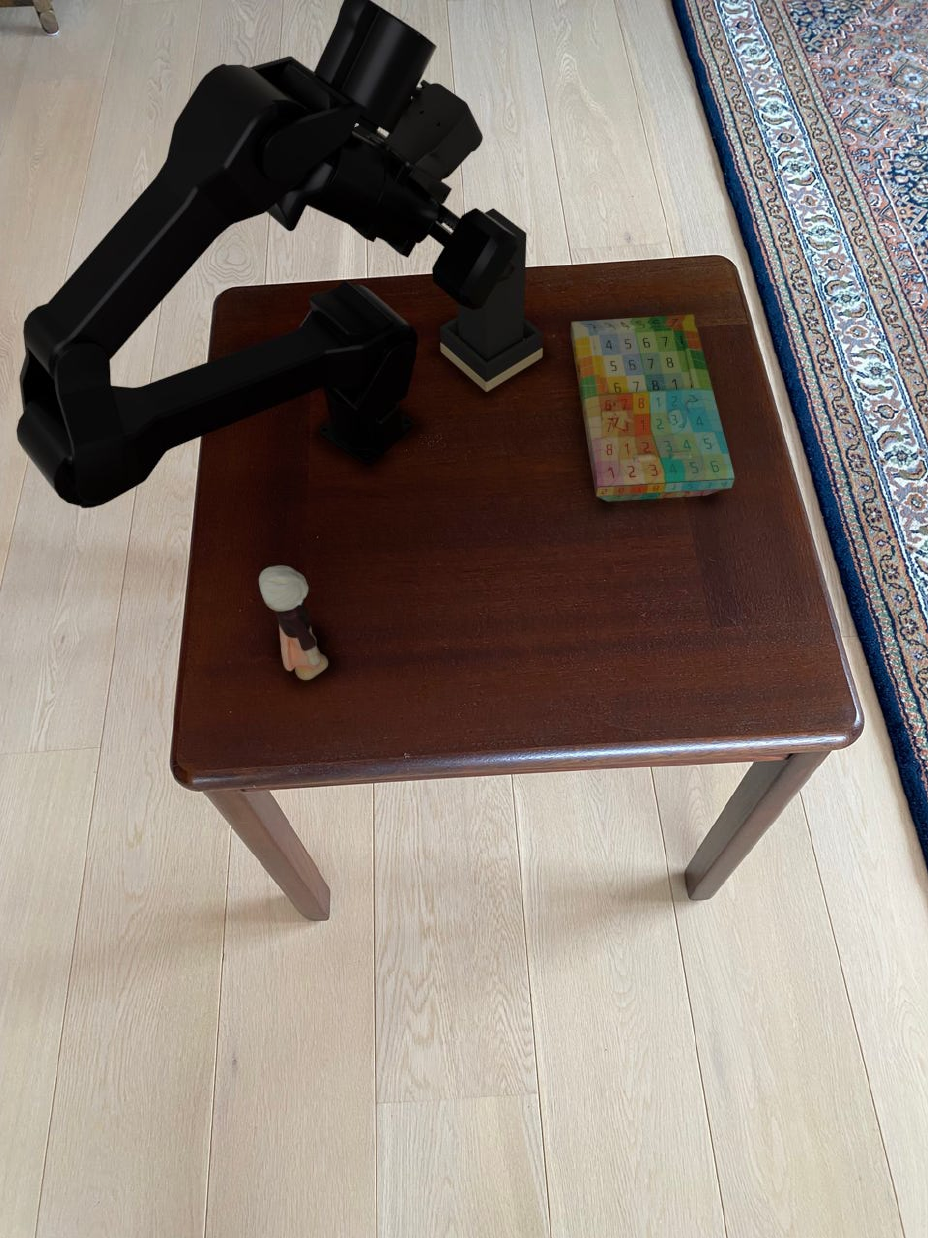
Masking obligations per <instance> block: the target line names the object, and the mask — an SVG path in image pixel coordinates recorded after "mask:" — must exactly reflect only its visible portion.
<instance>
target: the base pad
mask: <svg viewBox="0 0 928 1238" xmlns="http://www.w3.org/2000/svg"><path fill="white" fill-rule="evenodd" d="M439 333H440V353H442V354H443V355H444V356H445V357H446V358H447V359H449V360H450V362H452V363H453V364H454V365H455V366H456V367H457V368H459V370H461V371H462V372H463V373H464V374H465V375H466V376H468V378H470V379H471V380H472V381H473V382H474V383H475V384H477V385H478V386H479V387H480V388H481V389H482V390H484V392H486V393H488V392H490V390H492V389H494V388H496V387H497V386H499V385H500V384H502V383H503V382H505V381H507V380H508V379H510V378H512V377H513V376H515V375H516V374H518V373H520V372H521V371H523V370H524V369H526V368H528V367H529V366H531V365H533V364H534V363H535V362H537V361H539V360H541V359H542V358H543V352H544V351H543V350H544V348H543V340H544V332H543V331H541V330H540V329H539V328H538V327H537V326H535V325H534V324H533V323H532V322H531V321H529V319H527V318H526V317H524V328H523V341H521V342H520V343H518V344H516V345H515V346H513V347H511V348H510V349H508V350H506V351H505V352H503V353H502V354H500V355H498V356H497V357H495V358H493V359H492V360H490V361H489V362H486V361H485V360H483V359H482V358H481V357H480V356H479V355H478V354H477V353H475V352H474V351H473V350H472V349H471V348H470V347H468V346H467V345H466V344H465V343H464V342H463V341H462V340H460V339H459V332H458V316H456V317H455V318H453V319H451V320H449V321H448V322H446V323H444V324H442V325H441V326H439Z"/></svg>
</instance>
